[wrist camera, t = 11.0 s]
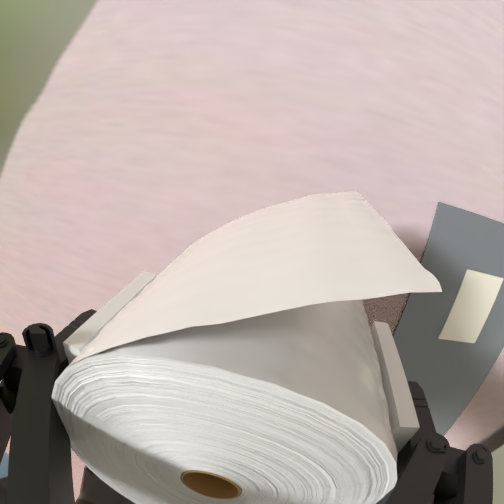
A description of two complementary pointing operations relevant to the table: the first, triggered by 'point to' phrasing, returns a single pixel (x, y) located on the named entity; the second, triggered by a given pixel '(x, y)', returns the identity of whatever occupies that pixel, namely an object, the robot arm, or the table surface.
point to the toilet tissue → (249, 365)
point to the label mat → (455, 313)
